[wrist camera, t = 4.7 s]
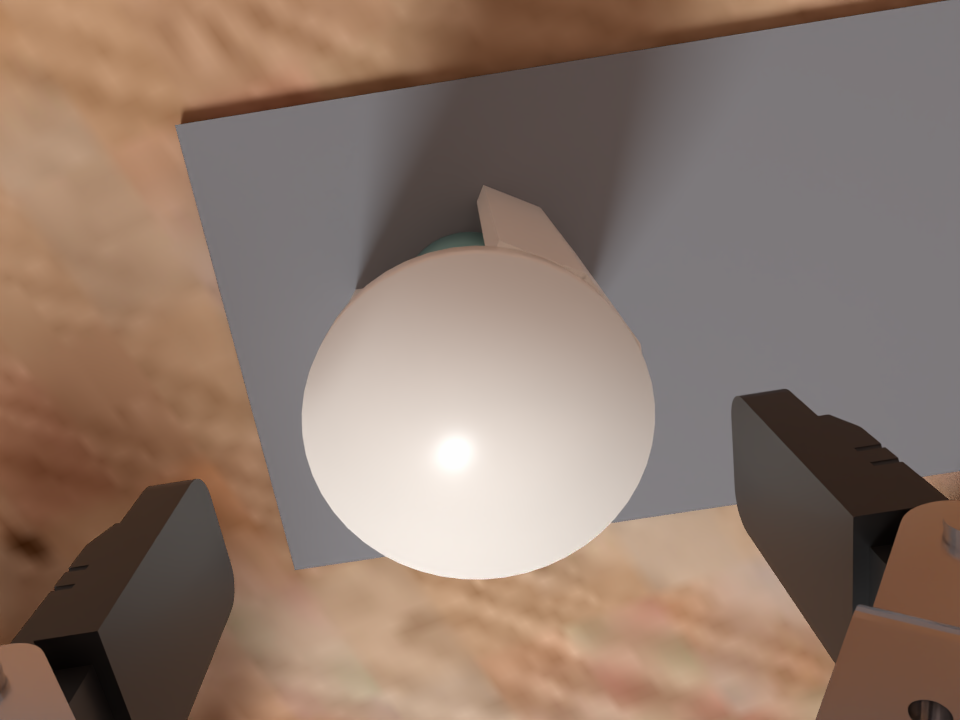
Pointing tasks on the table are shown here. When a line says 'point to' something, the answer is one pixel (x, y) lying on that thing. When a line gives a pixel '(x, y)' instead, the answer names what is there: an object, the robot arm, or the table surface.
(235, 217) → the mat
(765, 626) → the table surface
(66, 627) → the robot arm
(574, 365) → the cover cup
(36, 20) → the table surface
